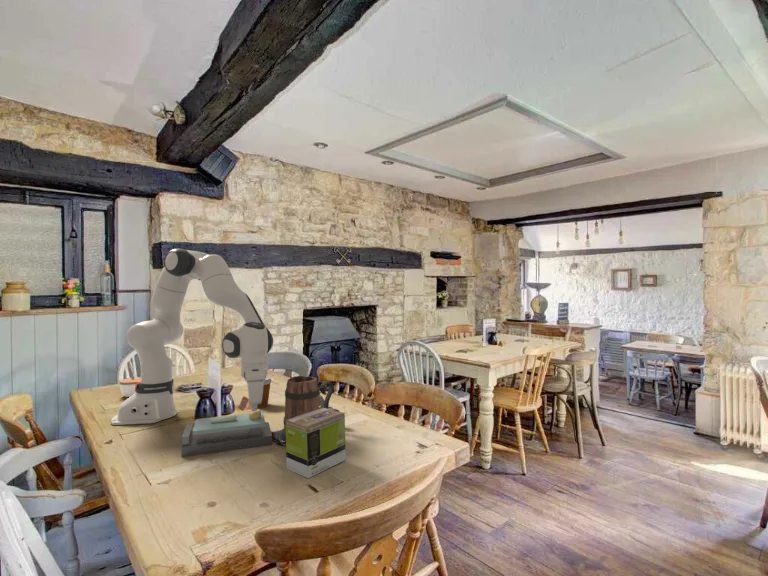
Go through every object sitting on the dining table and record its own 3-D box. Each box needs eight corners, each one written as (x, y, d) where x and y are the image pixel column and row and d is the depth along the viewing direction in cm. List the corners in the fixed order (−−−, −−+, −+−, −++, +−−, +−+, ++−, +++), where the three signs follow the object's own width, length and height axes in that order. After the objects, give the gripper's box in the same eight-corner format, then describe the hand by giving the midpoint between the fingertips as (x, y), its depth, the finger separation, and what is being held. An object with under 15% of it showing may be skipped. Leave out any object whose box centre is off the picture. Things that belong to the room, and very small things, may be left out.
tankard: (289, 448, 130) (289, 387, 130) (270, 433, 144) (270, 377, 144) (351, 433, 144) (351, 377, 144) (328, 420, 158) (328, 369, 158)
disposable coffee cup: (267, 409, 171) (267, 381, 171) (245, 408, 172) (245, 380, 172) (274, 402, 181) (274, 375, 181) (253, 402, 181) (253, 375, 181)
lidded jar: (121, 394, 194) (121, 375, 194) (147, 391, 198) (147, 373, 198) (117, 400, 184) (117, 379, 184) (144, 397, 189) (144, 377, 189)
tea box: (323, 452, 128) (323, 406, 128) (346, 461, 121) (346, 412, 121) (284, 469, 116) (284, 418, 116) (307, 480, 110) (307, 426, 110)
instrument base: (181, 456, 124) (181, 438, 124) (186, 440, 137) (186, 423, 137) (271, 444, 134) (271, 427, 134) (268, 430, 147) (268, 414, 147)
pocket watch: (334, 409, 172) (334, 385, 172) (330, 415, 163) (330, 390, 163) (316, 408, 172) (316, 385, 172) (310, 414, 164) (310, 390, 164)
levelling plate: (192, 435, 126) (192, 424, 126) (196, 422, 137) (196, 413, 137) (265, 426, 134) (265, 416, 134) (263, 415, 145) (263, 406, 145)
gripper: (244, 364, 147) (244, 402, 147) (245, 377, 128) (245, 420, 128) (262, 363, 149) (262, 400, 149) (266, 375, 130) (265, 418, 130)
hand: (254, 410), depth 138 cm, fingers closed
